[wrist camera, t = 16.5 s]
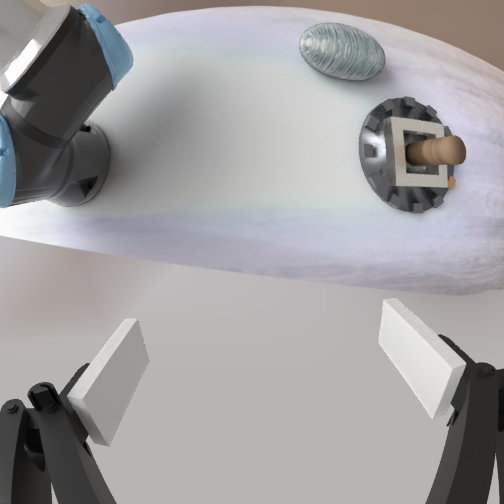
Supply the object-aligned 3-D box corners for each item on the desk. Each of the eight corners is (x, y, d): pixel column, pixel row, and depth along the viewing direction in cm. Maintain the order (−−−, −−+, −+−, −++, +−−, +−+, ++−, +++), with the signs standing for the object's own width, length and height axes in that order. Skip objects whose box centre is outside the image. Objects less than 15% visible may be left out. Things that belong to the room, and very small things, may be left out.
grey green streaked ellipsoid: (385, 40, 34) (393, 33, 26) (376, 87, 40) (382, 91, 32) (307, 21, 36) (297, 11, 29) (300, 68, 42) (289, 69, 35)
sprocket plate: (361, 212, 44) (371, 215, 40) (352, 94, 39) (361, 87, 35) (452, 211, 44) (464, 213, 40) (445, 107, 39) (457, 104, 35)
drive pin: (404, 165, 41) (447, 163, 29) (402, 142, 40) (444, 133, 28) (423, 166, 41) (467, 165, 29) (421, 144, 40) (464, 137, 28)
